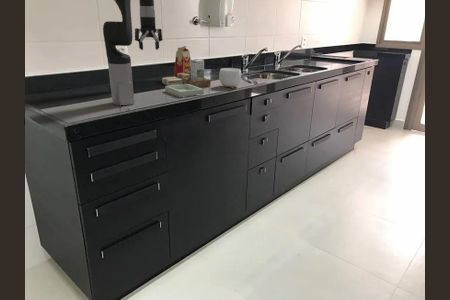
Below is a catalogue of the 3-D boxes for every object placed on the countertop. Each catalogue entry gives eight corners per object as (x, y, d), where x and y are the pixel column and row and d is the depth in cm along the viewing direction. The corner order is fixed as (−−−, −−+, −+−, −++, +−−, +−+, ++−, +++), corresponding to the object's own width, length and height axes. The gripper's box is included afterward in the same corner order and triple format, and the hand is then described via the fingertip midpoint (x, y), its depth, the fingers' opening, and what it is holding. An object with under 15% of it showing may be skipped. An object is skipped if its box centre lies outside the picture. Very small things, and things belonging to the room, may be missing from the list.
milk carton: (194, 79, 196) (193, 45, 188) (182, 81, 190) (181, 46, 182) (184, 77, 202) (183, 44, 194) (173, 79, 196) (171, 45, 188)
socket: (210, 86, 177) (210, 79, 175) (193, 88, 170) (193, 81, 169) (199, 83, 185) (199, 76, 183) (183, 85, 178) (183, 78, 177)
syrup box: (196, 84, 181) (196, 58, 176) (204, 86, 178) (204, 59, 172) (189, 86, 177) (189, 59, 172) (197, 87, 174) (197, 60, 168)
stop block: (190, 83, 184) (190, 74, 182) (184, 84, 181) (184, 75, 179) (183, 81, 189) (183, 72, 188) (177, 81, 187) (177, 73, 185)
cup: (245, 87, 178) (246, 69, 175) (230, 90, 170) (231, 72, 166) (229, 83, 186) (229, 67, 182) (214, 86, 177) (214, 69, 174)
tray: (203, 94, 158) (203, 89, 157) (180, 97, 151) (180, 91, 150) (187, 88, 170) (187, 83, 169) (165, 91, 162) (165, 86, 161)
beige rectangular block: (182, 85, 179) (182, 79, 178) (169, 87, 175) (169, 80, 174) (175, 82, 187) (175, 76, 185) (162, 83, 183) (162, 77, 181)
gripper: (136, 15, 154) (139, 50, 160) (163, 16, 162) (165, 49, 168) (131, 15, 159) (133, 49, 165) (157, 16, 167) (158, 48, 173)
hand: (149, 49), depth 167 cm, fingers open, 8 cm apart
